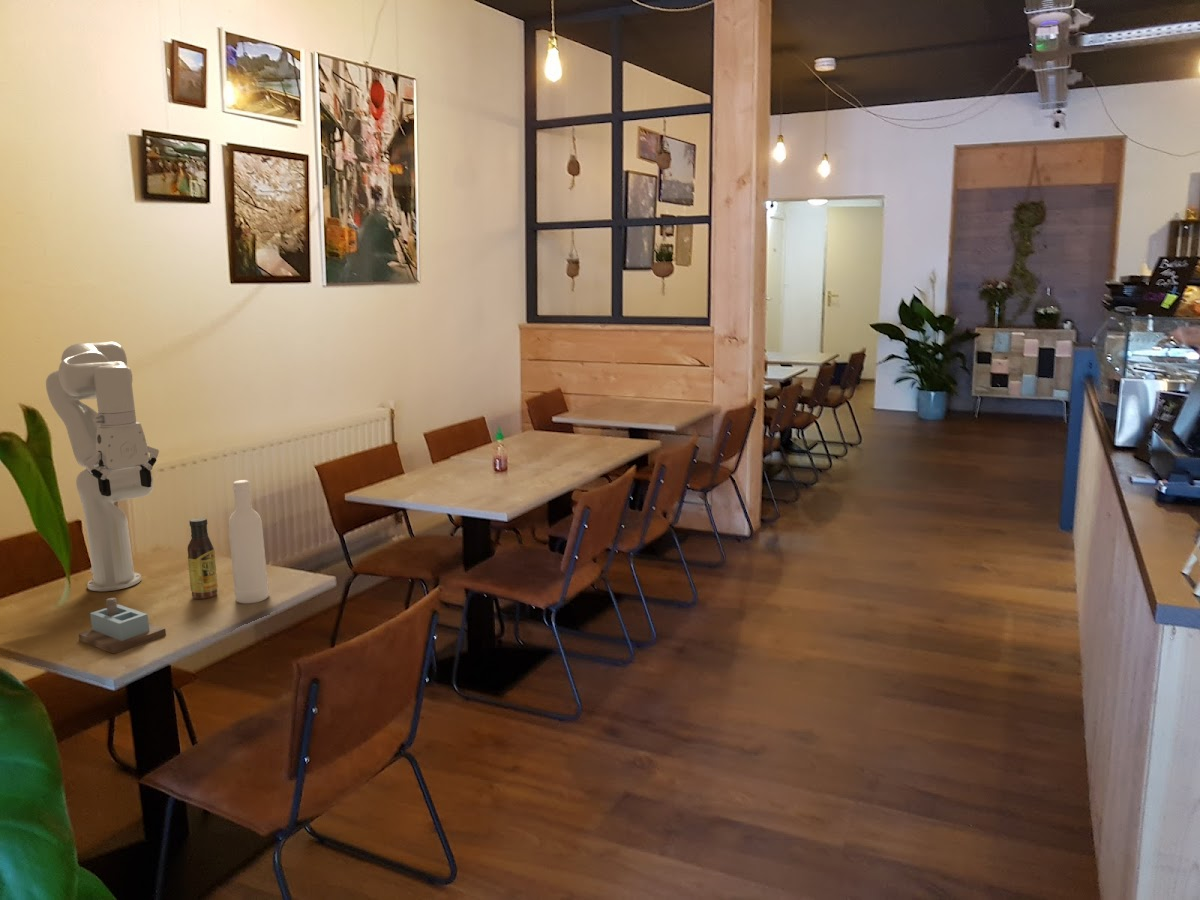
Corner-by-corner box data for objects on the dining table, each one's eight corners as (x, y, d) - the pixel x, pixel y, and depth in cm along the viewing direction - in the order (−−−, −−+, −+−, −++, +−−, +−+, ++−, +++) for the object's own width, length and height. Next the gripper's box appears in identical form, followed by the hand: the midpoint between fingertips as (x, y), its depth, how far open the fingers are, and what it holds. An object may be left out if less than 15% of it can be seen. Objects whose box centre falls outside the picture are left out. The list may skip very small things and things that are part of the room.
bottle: (243, 592, 233) (232, 477, 227) (274, 592, 232) (263, 477, 226) (230, 604, 225) (217, 485, 219) (261, 603, 225) (250, 485, 219)
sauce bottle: (208, 600, 227) (200, 523, 223) (186, 599, 228) (177, 522, 225) (224, 591, 234) (216, 516, 230) (202, 590, 235) (194, 515, 231)
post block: (79, 640, 204) (74, 604, 203) (131, 622, 214) (126, 588, 212) (113, 653, 197) (108, 616, 195) (166, 634, 207) (161, 599, 205)
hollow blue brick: (92, 629, 206) (89, 613, 205) (119, 620, 212) (117, 604, 211) (121, 640, 200) (119, 623, 199) (149, 631, 205) (147, 614, 204)
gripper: (88, 426, 202) (98, 501, 205) (162, 414, 216) (170, 485, 219) (70, 423, 206) (80, 497, 209) (144, 412, 220) (152, 481, 223)
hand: (126, 490), depth 214 cm, fingers open, 9 cm apart
